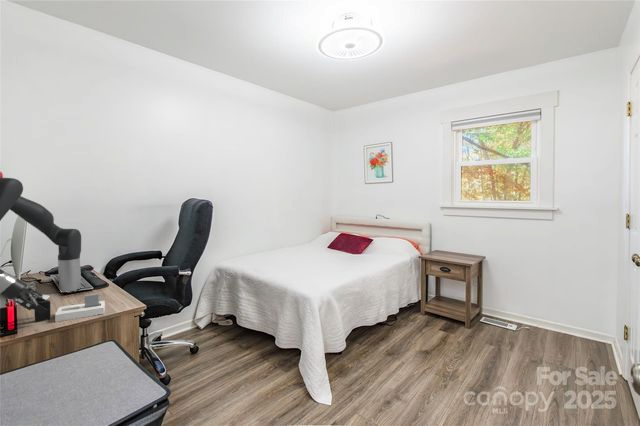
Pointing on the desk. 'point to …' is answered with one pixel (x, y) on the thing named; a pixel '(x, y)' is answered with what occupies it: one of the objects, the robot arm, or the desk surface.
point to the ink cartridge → (46, 314)
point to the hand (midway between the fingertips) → (46, 308)
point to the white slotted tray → (81, 309)
